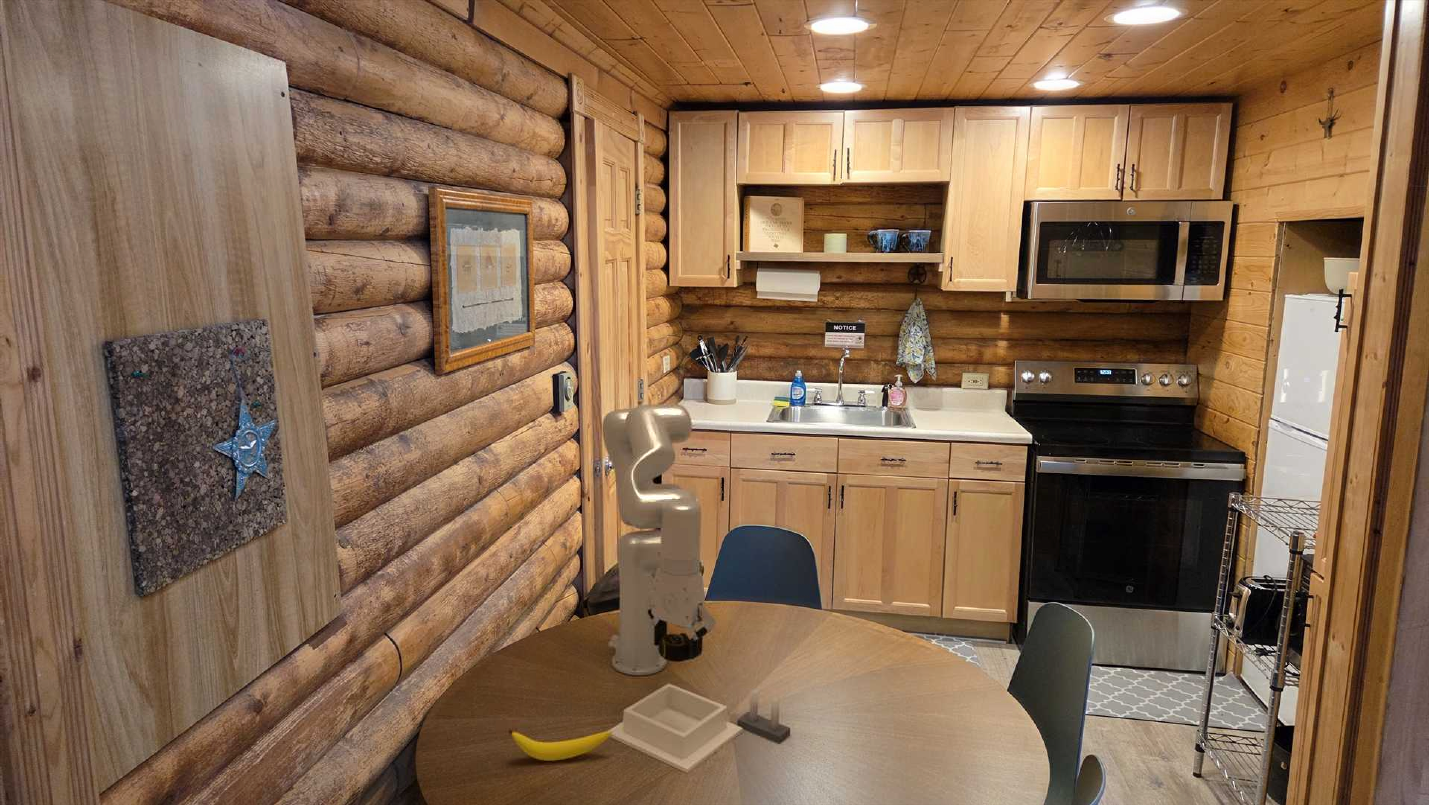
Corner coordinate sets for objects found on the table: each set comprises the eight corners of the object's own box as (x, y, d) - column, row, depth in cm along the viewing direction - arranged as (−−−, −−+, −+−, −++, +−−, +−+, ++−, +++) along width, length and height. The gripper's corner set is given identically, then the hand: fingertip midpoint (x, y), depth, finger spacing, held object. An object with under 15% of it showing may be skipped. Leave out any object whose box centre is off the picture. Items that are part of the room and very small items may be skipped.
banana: (612, 760, 157) (613, 728, 156) (508, 767, 153) (507, 734, 152) (612, 751, 159) (612, 720, 158) (509, 757, 156) (509, 726, 155)
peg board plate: (737, 726, 170) (738, 691, 168) (748, 718, 173) (749, 684, 172) (779, 743, 164) (781, 708, 163) (789, 735, 167) (791, 699, 166)
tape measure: (697, 663, 162) (698, 645, 161) (663, 667, 160) (664, 649, 159) (687, 647, 168) (688, 630, 168) (654, 651, 166) (654, 633, 165)
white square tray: (606, 735, 165) (607, 710, 164) (664, 699, 179) (665, 676, 178) (687, 773, 153) (688, 746, 152) (742, 731, 168) (743, 707, 167)
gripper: (632, 558, 163) (631, 643, 165) (704, 580, 153) (701, 670, 155) (657, 549, 169) (655, 631, 171) (728, 569, 159) (725, 656, 161)
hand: (677, 649), depth 163 cm, fingers closed on tape measure, 8 cm apart
